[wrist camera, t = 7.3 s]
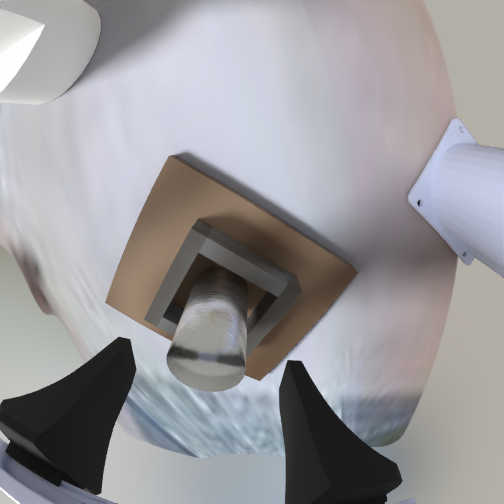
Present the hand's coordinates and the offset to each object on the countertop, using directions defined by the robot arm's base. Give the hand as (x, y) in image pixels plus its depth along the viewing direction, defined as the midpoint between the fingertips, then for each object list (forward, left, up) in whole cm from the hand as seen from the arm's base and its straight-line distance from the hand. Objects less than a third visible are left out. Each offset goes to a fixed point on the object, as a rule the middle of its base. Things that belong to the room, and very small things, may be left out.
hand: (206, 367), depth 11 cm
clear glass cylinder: (0, 0, -7) cm, 7 cm away
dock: (0, 0, -8) cm, 8 cm away
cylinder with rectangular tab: (+21, -9, -8) cm, 24 cm away
